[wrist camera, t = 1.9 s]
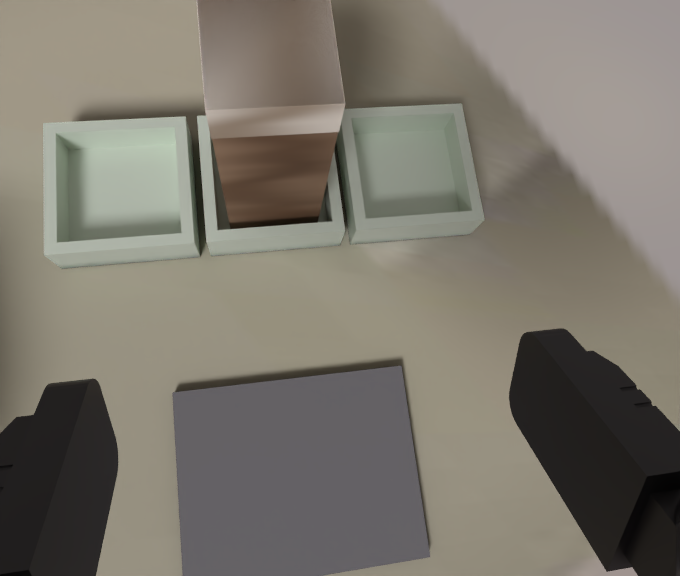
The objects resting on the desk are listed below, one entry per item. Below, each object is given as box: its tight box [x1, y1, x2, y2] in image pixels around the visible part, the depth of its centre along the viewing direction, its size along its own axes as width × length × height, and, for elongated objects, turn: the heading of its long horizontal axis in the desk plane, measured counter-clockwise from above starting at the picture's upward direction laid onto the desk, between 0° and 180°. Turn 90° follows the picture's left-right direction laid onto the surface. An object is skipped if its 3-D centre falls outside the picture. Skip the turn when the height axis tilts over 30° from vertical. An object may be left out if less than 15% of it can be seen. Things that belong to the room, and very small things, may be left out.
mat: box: [173, 366, 430, 576], centre depth 23 cm, size 10×8×1 cm
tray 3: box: [336, 103, 485, 245], centre depth 27 cm, size 6×6×2 cm
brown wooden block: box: [197, 0, 345, 229], centre depth 21 cm, size 4×4×10 cm
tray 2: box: [197, 115, 345, 256], centre depth 26 cm, size 6×6×2 cm
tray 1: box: [43, 116, 200, 269], centre depth 25 cm, size 6×6×2 cm
